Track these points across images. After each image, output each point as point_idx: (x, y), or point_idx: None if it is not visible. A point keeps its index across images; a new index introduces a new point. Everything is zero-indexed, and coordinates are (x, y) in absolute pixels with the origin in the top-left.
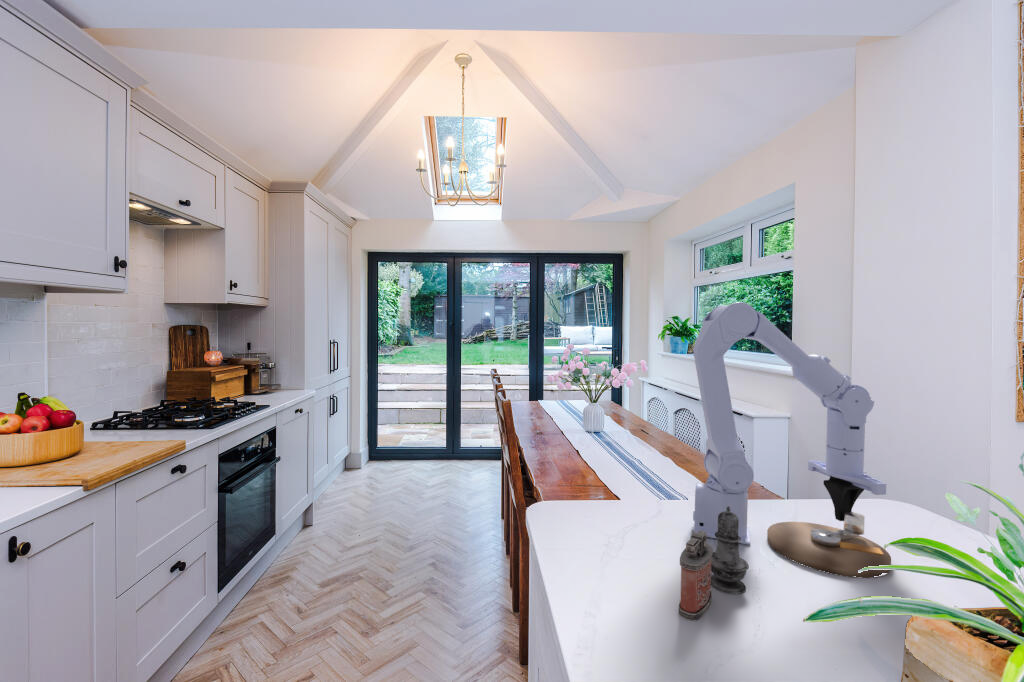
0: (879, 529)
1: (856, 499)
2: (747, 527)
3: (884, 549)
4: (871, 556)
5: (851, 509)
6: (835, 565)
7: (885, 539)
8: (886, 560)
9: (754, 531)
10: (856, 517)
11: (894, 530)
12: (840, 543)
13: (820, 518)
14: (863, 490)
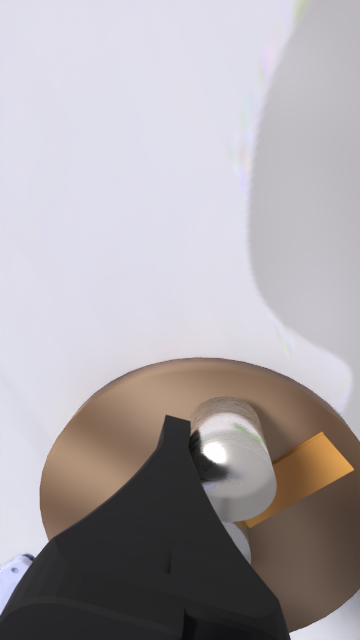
0: (169, 102)
1: (215, 513)
2: (25, 566)
3: (333, 416)
4: (332, 505)
5: (190, 454)
6: (303, 626)
7: (243, 211)
8: None
9: (40, 545)
10: (255, 509)
11: (206, 28)
12: (245, 527)
13: (2, 245)
14: (275, 603)
